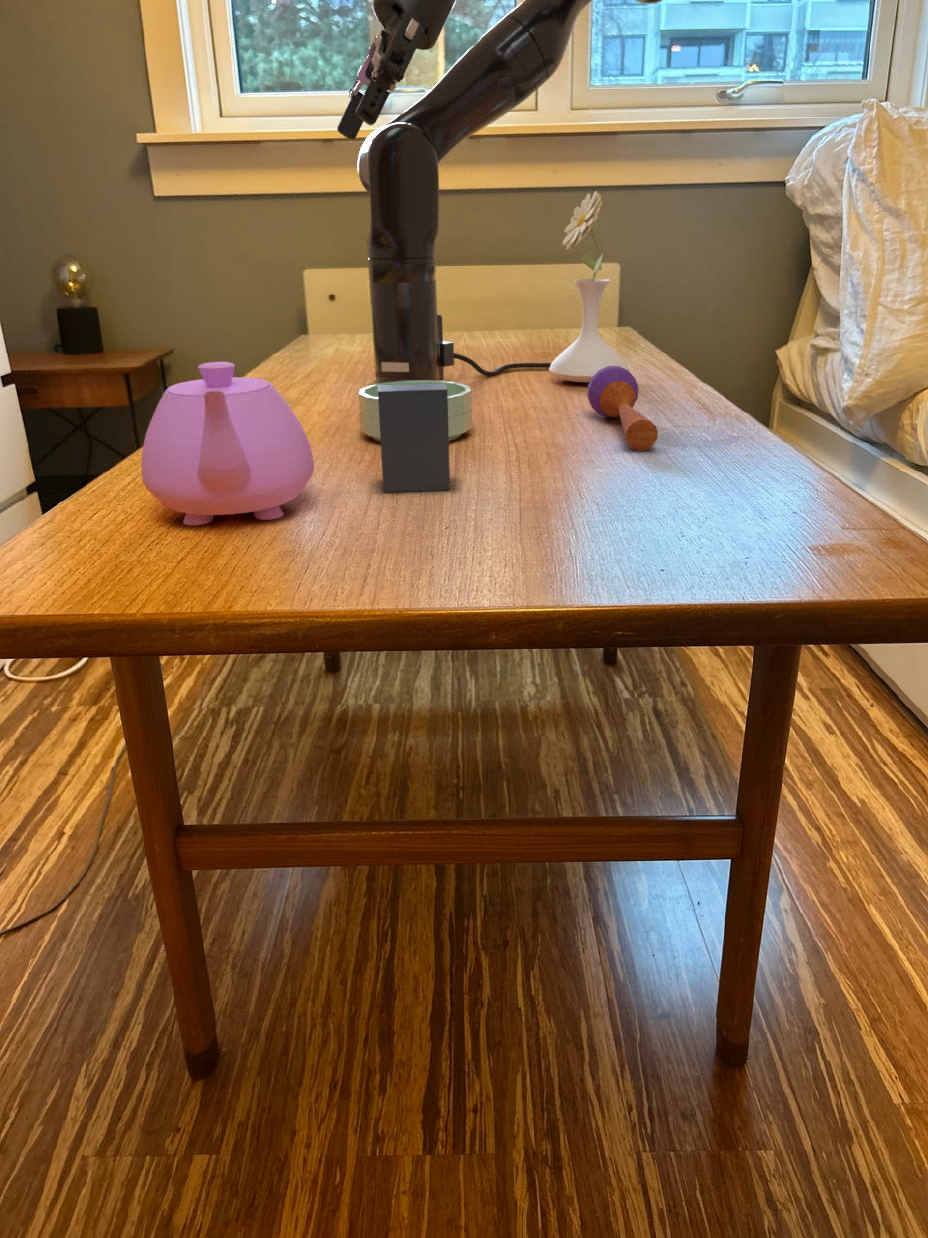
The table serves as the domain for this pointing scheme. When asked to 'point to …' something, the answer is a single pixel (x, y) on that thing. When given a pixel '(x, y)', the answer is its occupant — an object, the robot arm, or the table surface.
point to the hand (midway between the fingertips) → (354, 128)
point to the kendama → (621, 405)
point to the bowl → (456, 391)
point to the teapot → (225, 448)
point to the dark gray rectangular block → (414, 437)
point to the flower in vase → (586, 307)
